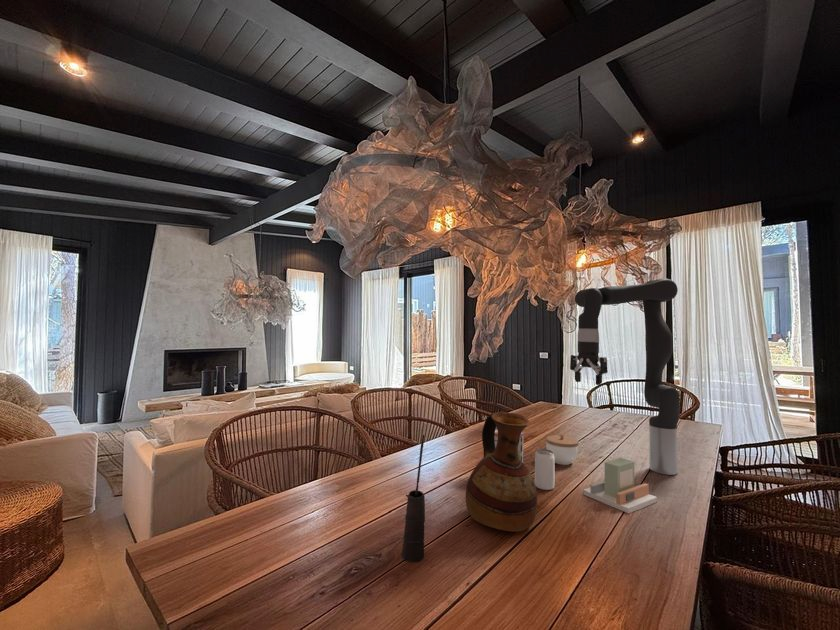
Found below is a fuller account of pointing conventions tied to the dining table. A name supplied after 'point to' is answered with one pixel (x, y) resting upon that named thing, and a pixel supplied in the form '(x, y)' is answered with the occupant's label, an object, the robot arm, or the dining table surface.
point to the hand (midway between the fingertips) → (588, 383)
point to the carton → (618, 476)
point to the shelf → (622, 497)
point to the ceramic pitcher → (502, 478)
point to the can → (544, 469)
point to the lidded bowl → (562, 448)
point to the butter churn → (414, 522)
